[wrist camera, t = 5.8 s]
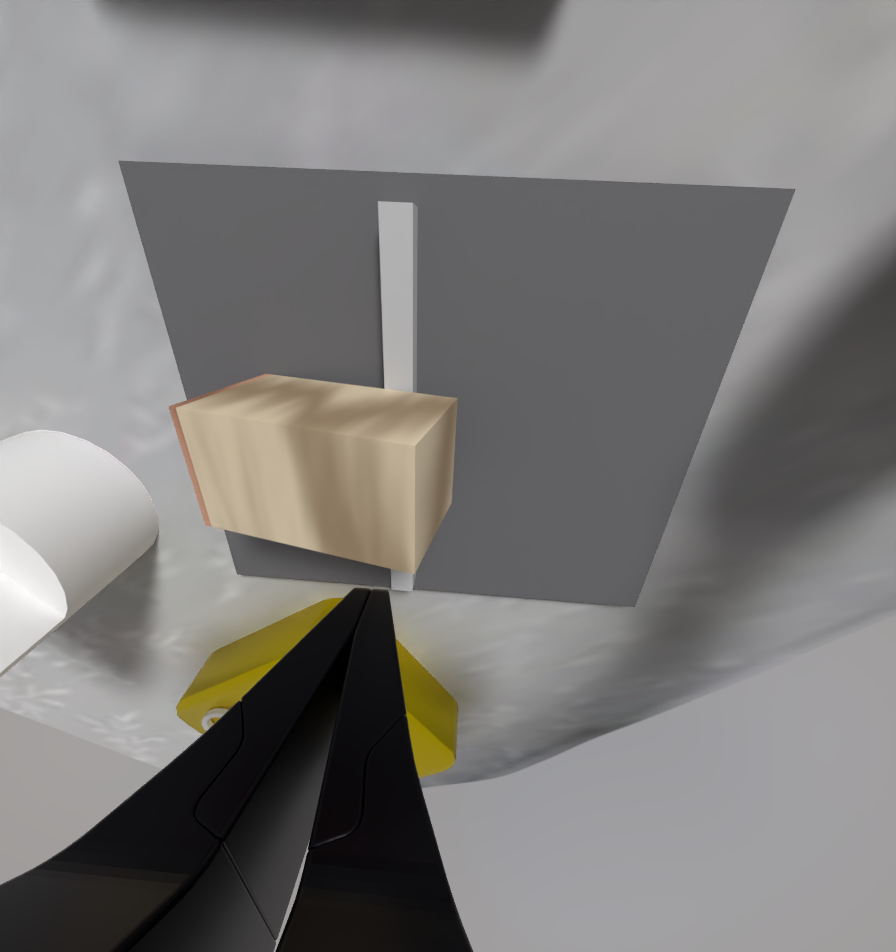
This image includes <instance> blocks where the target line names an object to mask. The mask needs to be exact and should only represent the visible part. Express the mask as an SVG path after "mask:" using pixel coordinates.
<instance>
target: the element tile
mask: <svg viewBox="0 0 896 952" xmlns="http://www.w3.org/2000/svg"><path fill="white" fill-rule="evenodd" d="M342 599H343V598H331V599H327V600H323V601H321V602H319V603H317V604H314V605H312V606H310V607H308V608H306V609H304V610H302V611H299V612H297V613H295V614H293V615H291V616H289V617H287V618H285V619H282V620H280V621H278V622H276V623H274V624H272V625H270V626H267V627H265V628H263V629H261V630H259V631H257V632H255V633H252V634H250V635H248V636H246V637H244V638H242V639H240V640H237V641H235V642H233V643H231V644H229V645H227V646H225V647H222V648H220V649H218V650H216V651H215V652H214V653H212V654H211V656H210V657H209V659H208V660H207V661H206V663H205V664H204V666H203V667H202V669H201V670H200V672H199V673H198V675H197V676H196V677H195V679H194V680H193V682H192V683H191V685H190V686H189V688H188V689H187V691H186V692H185V694H184V695H183V696H182V698H181V699H180V701H179V703H178V704H177V707H176V708H177V715H178V717H179V718H180V719H182V720H183V721H184V722H185V723H187V724H188V725H189V726H191V727H192V728H194V729H195V730H197V731H198V732H200V733H201V734H204V733H205V732H206V731H207V730H208V729H209V728H210V727H211V726H212V725H213V724H214V723H216V722H217V721H218V720H219V719H220V718H221V717H222V716H223V715H224V714H225V713H226V712H227V711H228V710H229V709H230V708H231V707H232V706H233V705H234V704H235V703H236V702H237V701H241V698H242V697H243V696H244V695H245V694H246V693H247V692H248V691H249V690H250V689H251V688H252V687H253V686H254V685H255V684H256V683H257V682H258V681H259V680H260V679H261V678H262V677H263V676H264V675H265V674H266V673H267V672H268V671H269V670H270V669H271V668H272V667H274V666H275V665H276V664H277V663H278V662H279V661H280V660H281V659H282V658H283V657H284V656H285V655H286V654H287V653H288V652H289V651H290V650H291V649H292V648H293V647H294V646H295V645H296V644H297V643H298V642H299V641H300V640H301V639H302V638H303V637H304V636H305V635H306V634H307V633H308V632H309V631H310V630H311V629H313V628H314V627H315V626H316V625H317V624H318V623H319V622H320V621H321V620H322V619H323V618H324V617H325V616H326V615H327V614H328V613H329V612H330V611H331V610H332V609H333V608H334V607H335V606H336V605H337V604H338V603H339V602H340V601H341V600H342ZM396 645H397V651H398V658H399V665H400V672H401V679H402V686H403V692H404V699H405V706H406V713H407V718H408V725H409V732H410V738H411V744H412V749H413V755H414V760H415V765H416V769H417V773H418V777H419V778H421V777H425V776H429V775H433V774H437V773H441V772H443V771H446V770H447V769H449V768H450V767H452V766H453V764H454V762H455V759H456V741H457V718H458V707H457V703H456V701H455V700H454V698H453V697H452V696H451V695H450V694H449V693H448V692H447V691H446V690H445V689H444V688H443V687H442V686H441V685H440V684H439V683H438V682H437V681H436V680H435V678H434V677H433V676H432V675H431V674H430V673H429V672H428V671H427V670H426V669H425V668H424V667H423V666H422V665H421V664H420V663H419V662H418V661H417V660H416V659H415V658H414V657H413V656H412V655H411V654H410V653H409V652H408V651H407V650H406V649H405V648H404V647H403V646H402V645H401V644H400V643H399V641H398V640H397V639H396Z"/></svg>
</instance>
